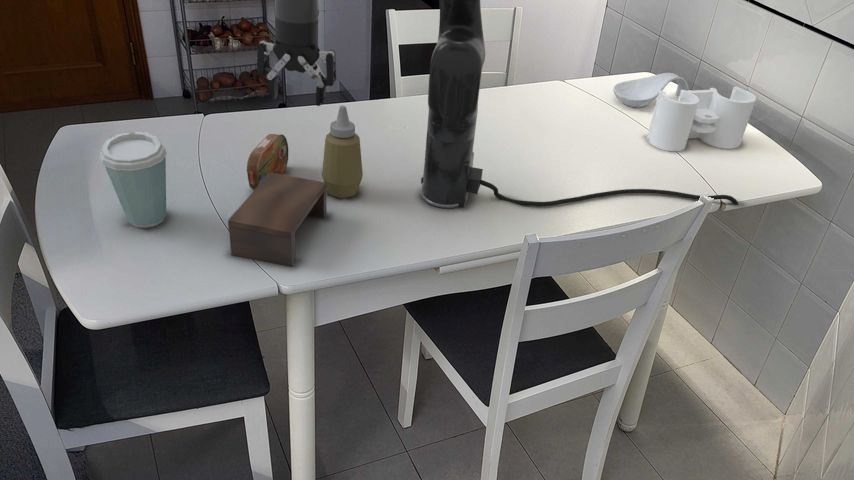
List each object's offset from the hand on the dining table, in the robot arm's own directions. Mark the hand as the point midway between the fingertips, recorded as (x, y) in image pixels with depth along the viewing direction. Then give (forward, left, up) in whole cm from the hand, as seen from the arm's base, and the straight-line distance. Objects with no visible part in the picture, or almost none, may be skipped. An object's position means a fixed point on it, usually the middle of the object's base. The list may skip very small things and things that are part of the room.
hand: (297, 100), depth 140 cm
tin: (+6, +2, -17) cm, 18 cm away
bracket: (-83, -53, -17) cm, 100 cm away
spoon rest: (-72, -75, -17) cm, 106 cm away
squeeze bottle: (-9, +1, -17) cm, 20 cm away
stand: (-4, +19, -17) cm, 26 cm away
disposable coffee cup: (+21, +23, -17) cm, 35 cm away
